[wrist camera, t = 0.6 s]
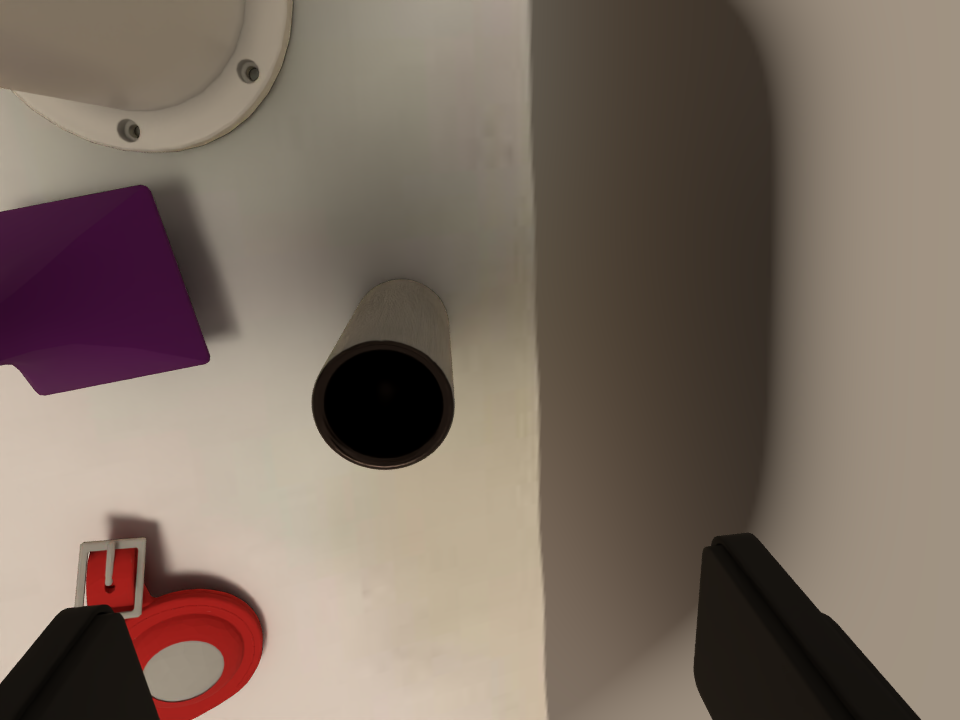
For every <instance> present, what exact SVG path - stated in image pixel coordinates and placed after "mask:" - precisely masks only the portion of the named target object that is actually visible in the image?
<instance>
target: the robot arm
mask: <svg viewBox="0 0 960 720" xmlns="http://www.w3.org/2000/svg"><path fill="white" fill-rule="evenodd" d="M292 9H293V0H0V88H4V89H9V90H11V91H12V92H13V93H14V94H15V95H16V96H18V97H19V98H20V99H21V100H22V101H23V102H24V103H25V104H27V105H28V106H29V107H30V108H31V109H32V110H33V111H35V112H37V113H38V114H40V115H41V116H43V117H44V118H46V119H47V120H49V121H50V122H52V123H53V124H55V125H57V126H58V127H60V128H61V129H63V130H65V131H67V132H70V133H72V134H74V135H76V136H79V137H81V138H83V139H86V140H88V141H90V142H92V143H96V144H100V145H104V146H108V147H112V148H116V149H120V150H124V151H135V152H147V153H152V152H178V151H182V150H186V149H190V148H194V147H198V146H202V145H205V144H207V143H209V142H211V141H213V140H215V139H217V138H219V137H221V136H223V135H226V134H228V133H229V132H231V131H232V130H233V129H234V128H236V127H237V126H238V125H239V124H241V123H242V122H243V121H244V120H246V119H247V118H248V117H249V116H250V115H251V114H252V113H253V112H254V111H255V109H256V108H257V107H258V106H259V104H260V103H261V102H262V101H263V99H264V98H265V97H266V96H267V94H268V93H269V91H270V89H271V87H272V85H273V83H274V81H275V79H276V77H277V75H278V73H279V71H280V69H281V67H282V64H283V60H284V57H285V53H286V50H287V46H288V42H289V39H290V31H291V20H292ZM252 68H256V69H257V70H258V72H259V77H258V79H256V80H254V81H252V80H251V79H250V78H249V71H250V70H251V69H252ZM136 126H138V127H139V130H140V136H139V138H138V137H137V136H136V135H135V133H134V128H135V127H136ZM694 677H695V682H696V685H697V688H698V691H699V693H700V696H701V698H702V700H703V702H704V704H705V705H706V708H707V710H708V712H709V714H710V716H711V717H712V719H713V720H921V719H920V718H919V717H918V716H917V715H916V713H915V712H914V711H913V710H912V709H911V708H910V706H909V705H908V704H907V703H906V702H905V701H904V700H903V698H902V697H901V696H900V695H899V694H898V693H897V692H896V691H895V689H894V688H893V687H892V686H891V685H890V684H889V682H888V681H887V680H886V679H885V678H884V677H883V676H882V674H881V673H880V672H879V671H878V670H877V669H876V667H875V666H874V665H873V664H872V663H871V662H870V661H869V660H868V658H867V657H866V656H865V655H864V654H863V653H862V651H861V650H860V649H859V648H858V647H857V646H856V645H855V643H854V642H853V641H852V640H851V639H850V638H849V637H848V635H847V634H846V633H845V632H844V631H843V630H842V629H841V627H840V626H839V625H838V624H837V623H836V622H835V621H834V620H832V618H830V617H829V616H827V615H826V614H823V613H821V612H820V611H819V610H818V609H817V607H816V606H815V605H814V604H813V603H812V601H811V600H810V599H809V598H808V597H807V596H806V594H805V593H804V592H803V591H802V590H801V589H800V587H799V586H798V585H797V584H796V583H795V582H794V580H793V579H792V578H791V577H790V576H789V575H788V574H787V572H786V571H785V570H784V569H783V568H782V567H781V565H780V564H779V563H778V562H777V561H776V560H775V558H774V557H773V556H772V555H771V554H770V552H769V551H768V550H767V549H766V548H765V547H764V546H763V544H762V543H761V542H760V541H759V540H758V539H757V538H756V537H755V536H754V535H753V534H751V533H741V534H733V535H723V536H717V537H714V539H713V541H712V544H711V546H708V547H705V548H704V549H703V553H702V565H701V578H700V592H699V604H698V617H697V630H696V644H695V656H694ZM0 720H160V718H159V715H158V713H157V710H156V707H155V704H154V701H153V698H152V696H151V693H150V690H149V687H148V684H147V682H146V679H145V676H144V673H143V670H142V667H141V665H140V662H139V659H138V656H137V653H136V651H135V648H134V645H133V642H132V639H131V636H130V634H129V631H128V628H127V625H126V622H125V620H124V618H123V616H122V615H121V614H120V613H114V611H113V610H112V608H111V607H110V606H109V605H105V604H101V605H92V606H83V607H74V608H67V609H64V610H62V611H61V612H60V613H59V614H58V615H56V616H55V618H54V619H53V620H52V621H51V623H50V624H49V625H48V626H47V627H46V629H45V630H44V631H43V632H42V634H41V635H40V636H39V637H38V638H37V640H36V641H35V642H34V643H33V645H32V646H31V647H30V648H29V649H28V651H27V652H26V653H25V654H24V656H23V657H22V658H21V659H20V660H19V662H18V663H17V664H16V665H15V667H14V668H13V669H12V670H11V671H10V673H9V674H8V675H7V676H6V678H5V679H4V680H3V681H2V682H1V684H0Z"/></svg>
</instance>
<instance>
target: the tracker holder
mask: <svg viewBox="0 0 960 720" xmlns="http://www.w3.org/2000/svg"><path fill="white" fill-rule="evenodd" d="M88 552H90V555H89V559H88ZM145 555H146V539H145V538H144V537H141V538H129V539H116V540H104V541H92V542H83V543H82V544H81V545H80V553H79V564H78V575H77V586H76V597H75V607H83V605H84V594H85V583H86V595H87V606H92V605H101V604H105V605H109V606H110V607H111V608H112V610H113V611H114V613H120V614H121V615H122V616H123V618H124V620H125V622H126V625H127V628H128V631H129V634H130V636H131V639H132V642H133V645H134V648H135V651H136V653H137V656H138V659H139V662H140V665H141V667H142V670H143V673H144V676H145V679H146V682H147V684H148V687H149V690H150V693H151V696H152V698H153V701H154V704H155V707H156V710H157V713H158V715H159V718H160V720H192V719H194V718H196V717H198V716H200V715H202V714H203V713H205V712H207V711H209V710H210V709H212V708H214V707H216V706H217V705H219V704H221V703H222V702H224V701H225V700H227V699H228V698H230V697H231V696H233V695H234V694H235V693H237V692H238V691H239V690H240V689H241V688H243V687H244V686H245V685H246V684H247V682H248V681H249V680H250V678H251V677H252V675H253V673H254V672H255V670H256V668H257V667H258V664H259V661H260V658H261V654H262V645H263V634H262V628H261V624H260V621H259V619H258V617H257V615H256V614H255V612H254V611H253V609H252V608H251V607H250V606H249V605H248V604H246V603H245V602H244V601H242V600H241V599H239V598H237V597H236V596H234V595H231V594H229V593H225V592H221V591H217V590H210V589H189V590H181V591H176V592H172V593H168V594H165V595H162V596H160V597H157V598H155V597H152V596H151V595H150V593H149V591H148V589H147V588H146V586H145V584H144V570H145ZM87 560H88V563H87ZM86 571H87V576H86Z"/></svg>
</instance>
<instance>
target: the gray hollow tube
mask: <svg viewBox="0 0 960 720" xmlns="http://www.w3.org/2000/svg"><path fill="white" fill-rule="evenodd" d="M454 409H455V399H454V385H453V371H452V357H451V343H450V329H449V320H448V316H447V312H446V309H445V307H444V305H443V303H442V301H441V300H440V299H439V297H438V296H437V295H436V294H435V293H434V292H433V291H432V290H431V289H429V288H428V287H426V286H425V285H423V284H421V283H418V282H415V281H411V280H405V279H397V280H390V281H387V282H384V283H381V284H379V285H378V286H376V287H374V288H373V289H372V290H371V291H369V292H368V293H367V294H366V296H365V297H364V298H363V299H362V300H361V302H360V303H359V305H358V307H357V309H356V310H355V312H354V314H353V316H352V317H351V319H350V321H349V323H348V324H347V326H346V328H345V329H344V331H343V333H342V335H341V336H340V338H339V340H338V342H337V343H336V345H335V347H334V349H333V350H332V352H331V354H330V355H329V357H328V359H327V361H326V362H325V364H324V366H323V368H322V369H321V371H320V373H319V375H318V377H317V379H316V382H315V385H314V388H313V393H312V413H313V417H314V421H315V424H316V426H317V429H318V431H319V433H320V434H321V436H322V438H323V439H324V440H325V442H326V443H327V444H328V445H329V446H330V447H331V448H332V449H333V450H334V451H335V452H336V453H337V454H339V455H340V456H341V457H343V458H344V459H346V460H348V461H350V462H352V463H354V464H357V465H359V466H362V467H366V468H371V469H378V470H391V469H399V468H403V467H407V466H410V465H413V464H415V463H417V462H419V461H421V460H423V459H425V458H426V457H427V456H429V455H430V454H431V453H433V452H434V451H435V450H436V449H437V448H438V447H439V446H440V445H441V443H442V442H443V441H444V439H445V438H446V436H447V434H448V432H449V430H450V428H451V425H452V422H453V417H454Z"/></svg>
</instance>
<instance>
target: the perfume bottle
mask: <svg viewBox="0 0 960 720" xmlns="http://www.w3.org/2000/svg"><path fill="white" fill-rule="evenodd" d="M209 361H210V354H209V351H208V348H207V346H206V343H205V340H204V337H203V335H202V332H201V329H200V326H199V323H198V321H197V318H196V315H195V312H194V309H193V307H192V304H191V301H190V298H189V296H188V293H187V290H186V287H185V284H184V282H183V279H182V276H181V273H180V270H179V268H178V265H177V262H176V259H175V257H174V254H173V251H172V248H171V245H170V243H169V240H168V237H167V234H166V232H165V229H164V226H163V223H162V220H161V218H160V215H159V212H158V209H157V206H156V204H155V201H154V198H153V195H152V193H151V191H150V189H149V188H148V187H147V186H144V185H136V186H131V187H126V188H121V189H116V190H110V191H105V192H100V193H95V194H90V195H85V196H79V197H74V198H69V199H64V200H59V201H54V202H49V203H43V204H38V205H33V206H28V207H23V208H18V209H13V210H7V211H2V212H0V366H1V365H13V366H15V367H16V368H17V369H19V370H20V372H21V373H22V374H23V376H24V377H25V378H26V380H27V381H28V382H29V383H30V385H31V386H32V387H33V389H34V390H35V391H36V392H37V393H38V394H39V395H50V394H55V393H60V392H66V391H71V390H76V389H81V388H86V387H91V386H96V385H101V384H106V383H111V382H116V381H121V380H126V379H132V378H137V377H142V376H147V375H152V374H157V373H162V372H167V371H172V370H177V369H182V368H188V367H193V366H198V365H203V364H206V363H208V362H209Z"/></svg>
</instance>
